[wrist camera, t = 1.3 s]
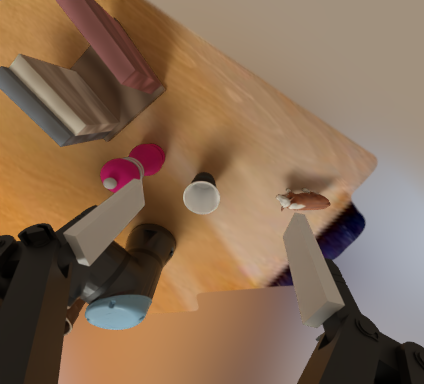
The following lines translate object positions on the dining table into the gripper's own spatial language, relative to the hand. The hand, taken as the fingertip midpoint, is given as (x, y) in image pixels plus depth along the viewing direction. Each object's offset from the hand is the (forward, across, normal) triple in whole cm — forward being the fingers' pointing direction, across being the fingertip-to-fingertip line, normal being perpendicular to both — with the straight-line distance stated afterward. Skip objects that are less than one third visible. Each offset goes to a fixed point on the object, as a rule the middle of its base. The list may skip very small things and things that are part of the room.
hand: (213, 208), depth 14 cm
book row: (+27, +28, -5) cm, 40 cm away
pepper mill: (+26, +20, +8) cm, 34 cm away
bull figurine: (+32, -18, +14) cm, 39 cm away
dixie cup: (+28, +6, +13) cm, 31 cm away
